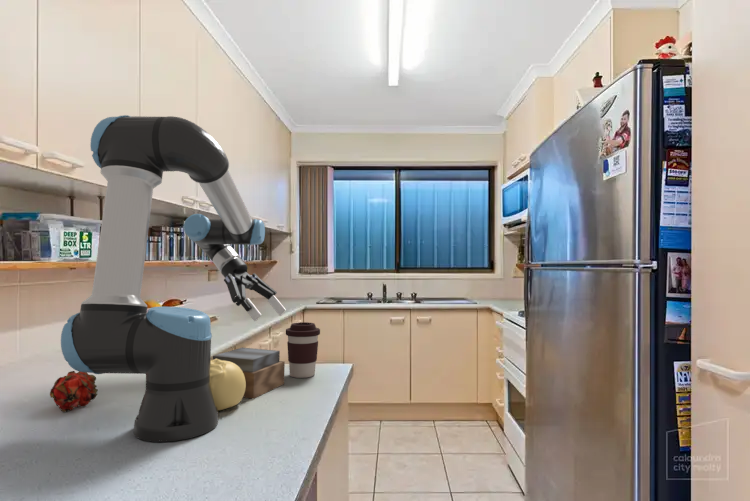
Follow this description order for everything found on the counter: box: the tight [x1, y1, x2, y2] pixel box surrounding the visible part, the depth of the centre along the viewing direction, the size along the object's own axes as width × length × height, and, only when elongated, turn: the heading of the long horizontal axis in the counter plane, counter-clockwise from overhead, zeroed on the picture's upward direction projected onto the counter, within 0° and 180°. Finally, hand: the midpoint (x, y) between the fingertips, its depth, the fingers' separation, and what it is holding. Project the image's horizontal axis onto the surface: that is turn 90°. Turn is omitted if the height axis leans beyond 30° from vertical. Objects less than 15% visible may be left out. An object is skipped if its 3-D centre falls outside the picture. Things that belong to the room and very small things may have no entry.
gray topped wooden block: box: [212, 347, 286, 399], centre depth 115 cm, size 14×14×9 cm
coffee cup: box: [285, 321, 321, 379], centre depth 128 cm, size 10×10×15 cm
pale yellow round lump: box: [210, 359, 246, 412], centre depth 100 cm, size 12×12×11 cm
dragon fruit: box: [49, 370, 99, 413], centre depth 98 cm, size 8×8×12 cm
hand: (271, 315), depth 132 cm, fingers open, 13 cm apart
